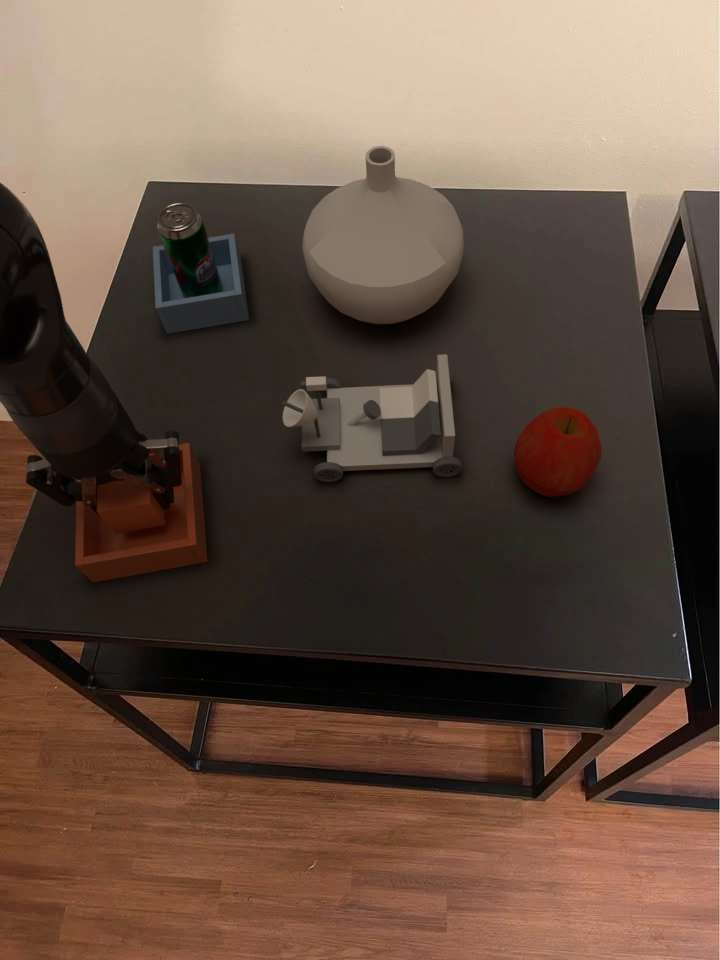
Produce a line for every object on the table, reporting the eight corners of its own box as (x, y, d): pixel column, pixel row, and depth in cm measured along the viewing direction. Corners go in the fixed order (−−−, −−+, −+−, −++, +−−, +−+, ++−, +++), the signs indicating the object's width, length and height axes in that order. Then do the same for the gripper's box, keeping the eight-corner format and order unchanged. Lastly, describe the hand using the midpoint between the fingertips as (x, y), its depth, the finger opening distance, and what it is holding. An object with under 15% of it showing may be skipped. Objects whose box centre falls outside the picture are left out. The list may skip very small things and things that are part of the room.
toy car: (276, 435, 68) (280, 339, 73) (291, 484, 76) (293, 394, 82) (468, 426, 67) (457, 329, 72) (461, 476, 76) (452, 387, 81)
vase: (297, 342, 85) (271, 213, 69) (324, 232, 94) (308, 93, 77) (451, 356, 83) (463, 227, 66) (465, 243, 92) (479, 102, 75)
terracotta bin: (93, 582, 72) (74, 565, 68) (93, 483, 78) (76, 461, 73) (207, 562, 72) (196, 544, 68) (200, 464, 78) (189, 442, 74)
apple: (583, 518, 73) (610, 466, 63) (502, 501, 74) (517, 447, 65) (593, 451, 76) (620, 392, 67) (516, 435, 78) (532, 375, 68)
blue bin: (166, 334, 87) (155, 308, 83) (163, 273, 92) (152, 246, 88) (249, 320, 87) (241, 293, 83) (241, 260, 92) (234, 233, 88)
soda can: (213, 312, 87) (187, 236, 77) (176, 304, 88) (146, 227, 78) (230, 282, 90) (207, 205, 79) (193, 274, 91) (166, 196, 80)
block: (115, 534, 71) (96, 512, 67) (115, 490, 73) (96, 466, 69) (165, 525, 71) (150, 502, 67) (163, 481, 74) (148, 457, 69)
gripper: (157, 359, 59) (206, 461, 74) (-18, 389, 59) (68, 486, 74) (160, 434, 56) (212, 526, 71) (-25, 467, 55) (66, 553, 70)
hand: (138, 505), depth 72 cm, fingers closed on block, 5 cm apart
